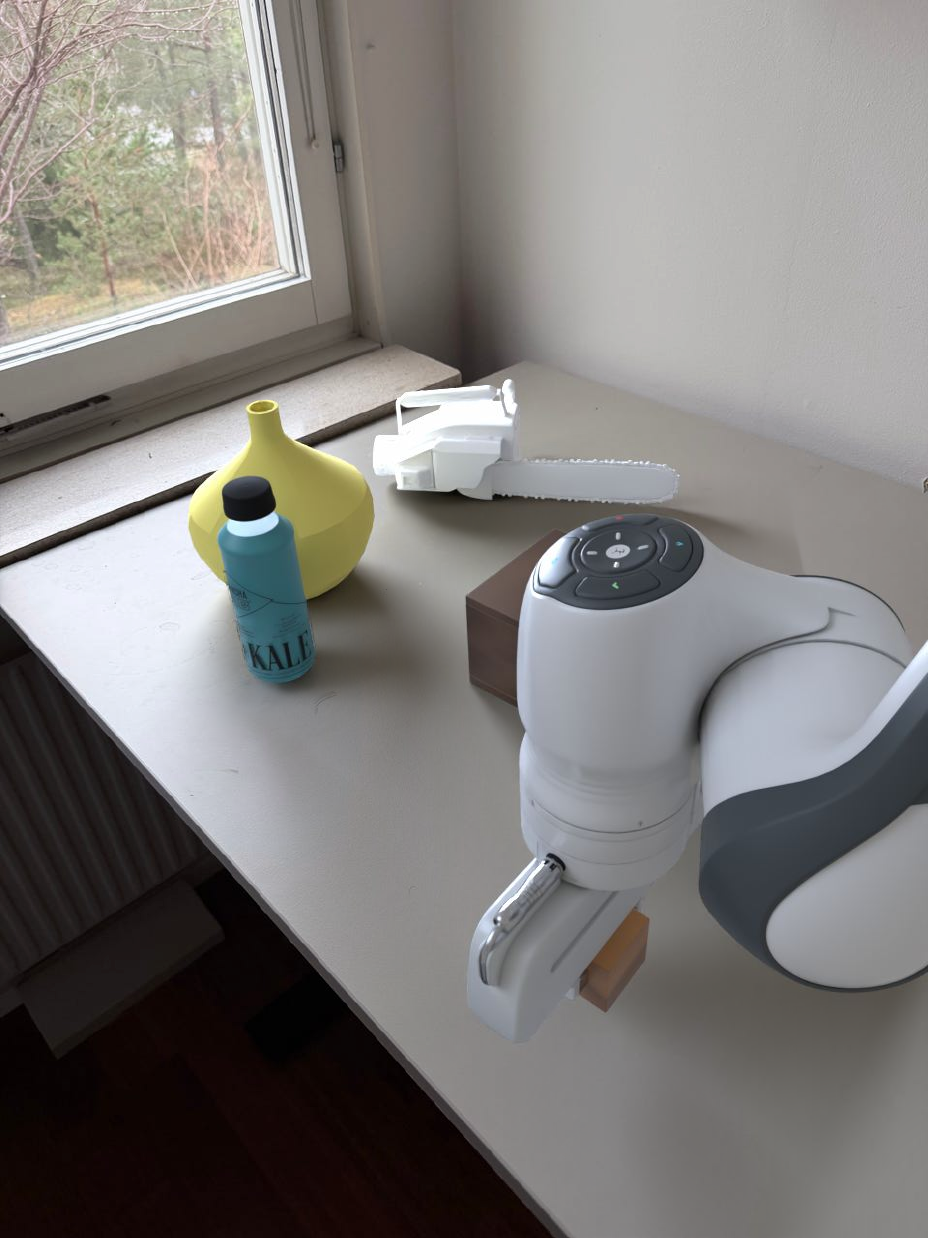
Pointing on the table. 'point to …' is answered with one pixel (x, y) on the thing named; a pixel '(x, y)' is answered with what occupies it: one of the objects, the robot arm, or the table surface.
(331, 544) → the vase
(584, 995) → the block
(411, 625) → the table surface
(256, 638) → the beverage bottle
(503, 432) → the chainsaw
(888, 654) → the robot arm
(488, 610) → the cabinet
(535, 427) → the table surface
